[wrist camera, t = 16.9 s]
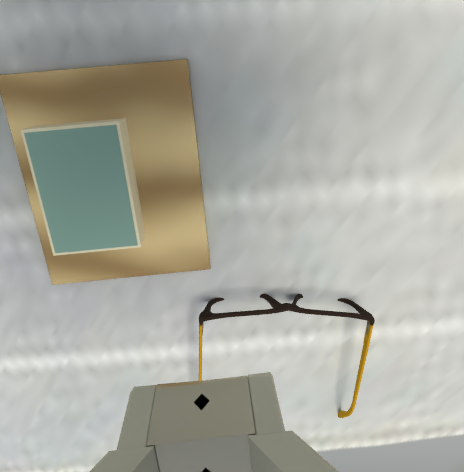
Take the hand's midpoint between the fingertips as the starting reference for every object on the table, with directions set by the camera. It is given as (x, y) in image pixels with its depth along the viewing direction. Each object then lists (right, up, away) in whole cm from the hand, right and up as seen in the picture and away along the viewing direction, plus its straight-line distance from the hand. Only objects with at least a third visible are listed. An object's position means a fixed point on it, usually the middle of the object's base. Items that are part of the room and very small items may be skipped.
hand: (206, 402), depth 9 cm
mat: (-8, +8, +22) cm, 25 cm away
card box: (-7, +7, +21) cm, 23 cm away
